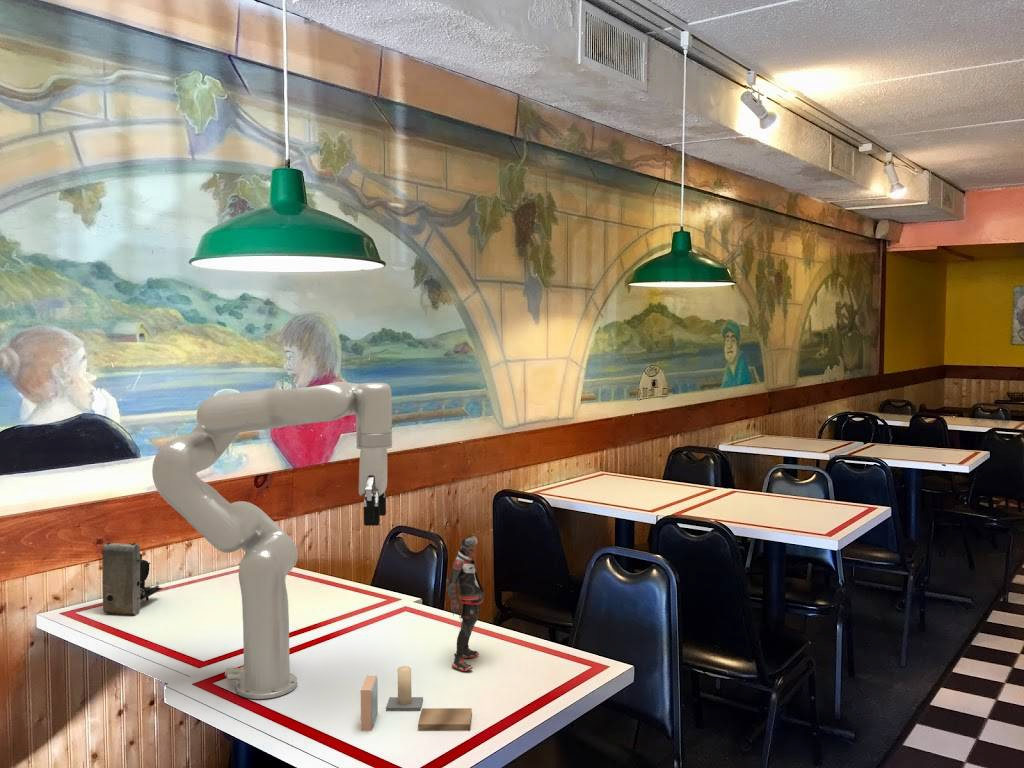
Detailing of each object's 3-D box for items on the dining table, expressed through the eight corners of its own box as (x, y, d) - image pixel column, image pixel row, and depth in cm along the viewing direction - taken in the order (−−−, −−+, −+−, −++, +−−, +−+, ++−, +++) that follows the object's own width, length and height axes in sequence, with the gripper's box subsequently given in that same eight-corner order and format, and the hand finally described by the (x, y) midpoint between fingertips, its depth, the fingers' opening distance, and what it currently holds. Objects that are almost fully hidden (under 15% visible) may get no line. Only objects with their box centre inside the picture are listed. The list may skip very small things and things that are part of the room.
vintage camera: (165, 601, 243) (163, 533, 243) (134, 616, 228) (132, 544, 227) (134, 600, 244) (133, 532, 244) (101, 616, 229) (99, 543, 229)
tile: (361, 730, 161) (360, 690, 161) (367, 714, 168) (366, 675, 168) (372, 730, 161) (371, 690, 161) (378, 714, 168) (377, 675, 168)
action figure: (463, 675, 187) (462, 543, 186) (432, 661, 195) (431, 535, 194) (497, 662, 195) (496, 535, 193) (465, 650, 203) (464, 527, 201)
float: (385, 711, 170) (385, 674, 169) (389, 700, 175) (389, 664, 174) (420, 711, 170) (420, 673, 169) (423, 700, 175) (422, 664, 174)
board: (418, 730, 161) (418, 724, 161) (422, 714, 168) (421, 708, 168) (469, 730, 161) (469, 724, 161) (471, 714, 168) (471, 708, 168)
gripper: (363, 436, 187) (364, 512, 188) (349, 446, 169) (350, 529, 170) (396, 436, 187) (397, 511, 188) (386, 445, 170) (387, 529, 170)
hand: (375, 520), depth 179 cm, fingers open, 9 cm apart
